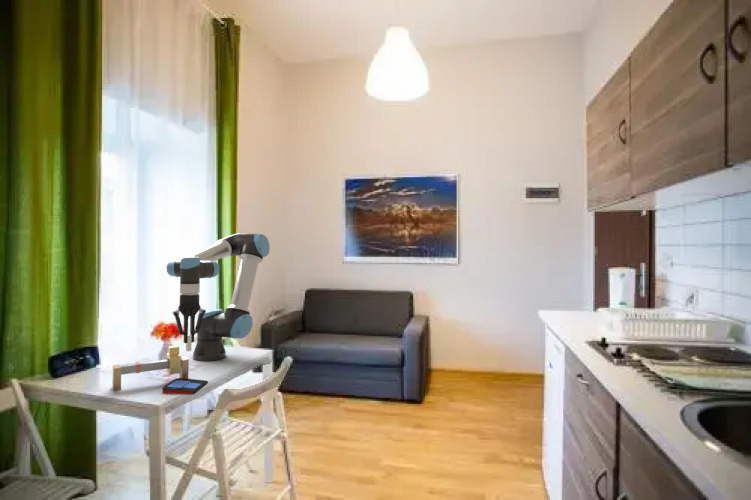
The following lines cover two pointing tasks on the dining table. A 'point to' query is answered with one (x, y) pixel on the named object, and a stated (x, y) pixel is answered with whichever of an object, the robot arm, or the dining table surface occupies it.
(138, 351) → the dining table surface
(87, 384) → the dining table surface
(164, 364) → the grey rail on posts
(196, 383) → the game console
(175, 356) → the beige wooden block
